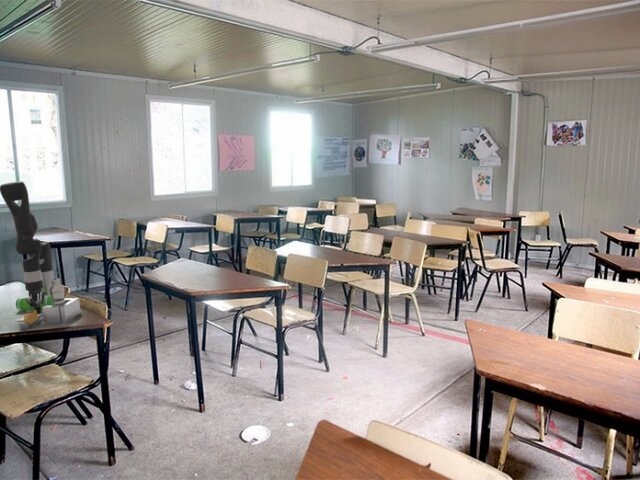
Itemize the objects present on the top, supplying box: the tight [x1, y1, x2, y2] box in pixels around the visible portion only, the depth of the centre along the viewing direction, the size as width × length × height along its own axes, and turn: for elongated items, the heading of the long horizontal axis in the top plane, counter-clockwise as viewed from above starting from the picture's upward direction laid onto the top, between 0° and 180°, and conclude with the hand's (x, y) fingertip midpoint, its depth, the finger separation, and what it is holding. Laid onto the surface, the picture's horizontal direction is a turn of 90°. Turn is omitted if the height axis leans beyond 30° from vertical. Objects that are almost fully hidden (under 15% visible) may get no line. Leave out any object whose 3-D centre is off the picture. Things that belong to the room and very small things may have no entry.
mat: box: [16, 312, 43, 323], centre depth 240 cm, size 10×8×1 cm
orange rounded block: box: [22, 310, 38, 325], centre depth 228 cm, size 8×3×7 cm, turn 1°
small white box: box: [18, 297, 82, 330], centre depth 233 cm, size 23×18×8 cm
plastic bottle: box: [49, 277, 65, 305], centre depth 236 cm, size 6×7×20 cm
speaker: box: [15, 295, 52, 312], centre depth 253 cm, size 18×7×8 cm, turn 93°
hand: (38, 313), depth 234 cm, fingers closed
